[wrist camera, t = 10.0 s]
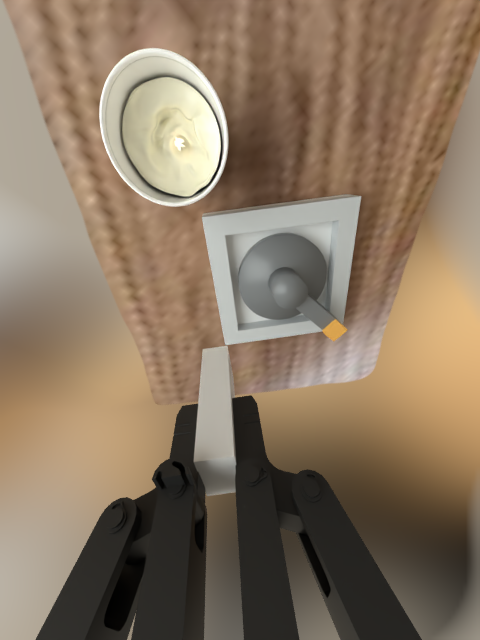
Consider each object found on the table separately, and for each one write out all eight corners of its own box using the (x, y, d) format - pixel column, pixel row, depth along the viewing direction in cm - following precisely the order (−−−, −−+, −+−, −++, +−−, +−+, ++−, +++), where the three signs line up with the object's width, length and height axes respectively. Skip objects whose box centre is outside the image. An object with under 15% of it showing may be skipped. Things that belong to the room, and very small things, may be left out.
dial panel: (203, 213, 32) (201, 217, 29) (346, 194, 33) (362, 196, 29) (224, 331, 43) (225, 345, 39) (332, 316, 43) (342, 329, 39)
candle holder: (238, 170, 30) (249, 167, 20) (176, 212, 32) (157, 228, 22) (194, 76, 25) (179, 7, 15) (124, 131, 27) (68, 103, 17)
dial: (220, 283, 35) (221, 302, 30) (281, 211, 31) (294, 218, 26) (296, 339, 42) (308, 363, 37) (355, 287, 38) (378, 305, 33)
